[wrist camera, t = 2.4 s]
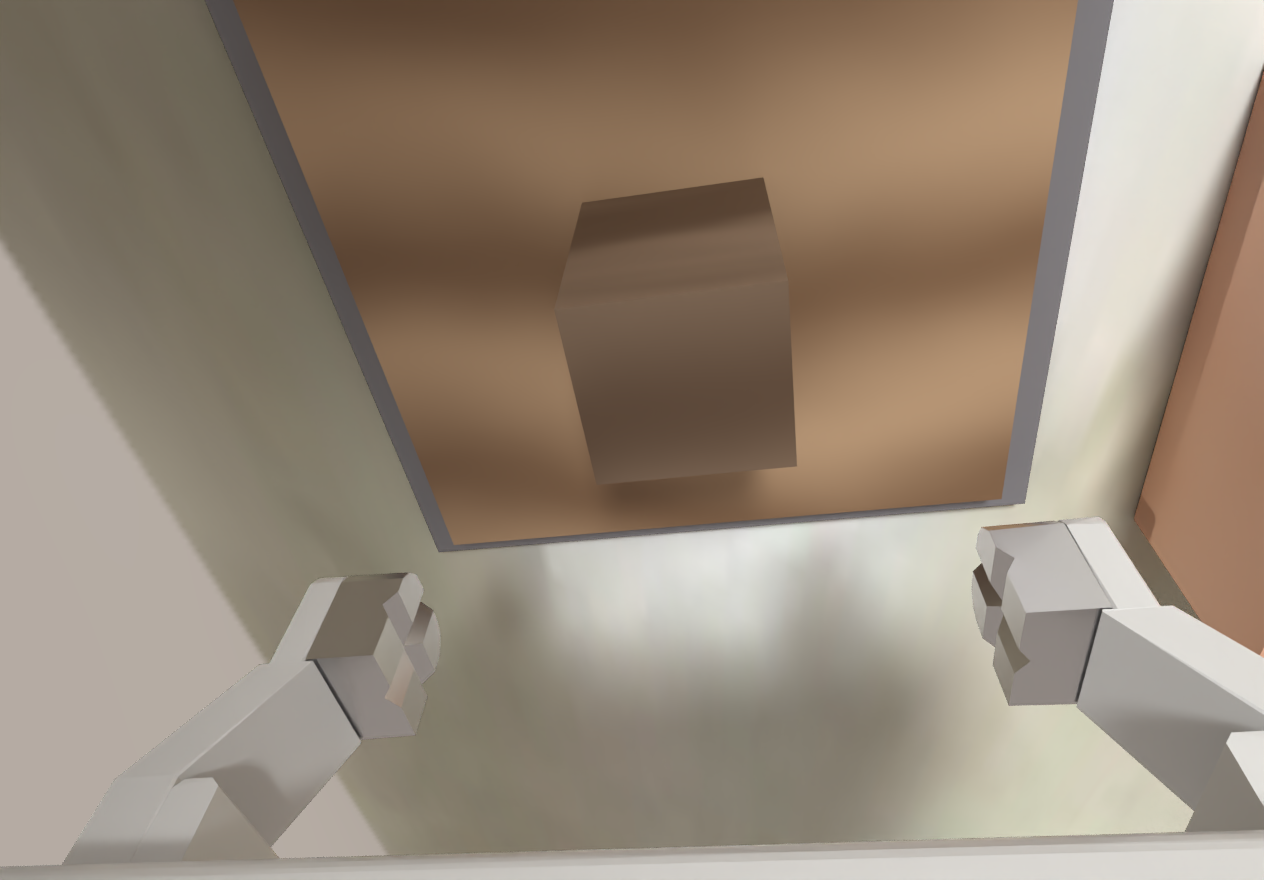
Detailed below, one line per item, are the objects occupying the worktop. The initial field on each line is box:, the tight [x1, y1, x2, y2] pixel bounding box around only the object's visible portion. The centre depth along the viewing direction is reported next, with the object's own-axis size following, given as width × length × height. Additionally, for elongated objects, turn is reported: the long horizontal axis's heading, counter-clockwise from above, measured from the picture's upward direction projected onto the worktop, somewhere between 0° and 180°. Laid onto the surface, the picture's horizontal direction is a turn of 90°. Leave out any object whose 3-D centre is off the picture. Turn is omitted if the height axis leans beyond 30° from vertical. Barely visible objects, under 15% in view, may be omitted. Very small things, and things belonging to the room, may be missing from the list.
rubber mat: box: [205, 0, 1114, 552], centre depth 20 cm, size 18×18×1 cm
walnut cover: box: [233, 0, 1078, 545], centre depth 17 cm, size 16×16×6 cm
